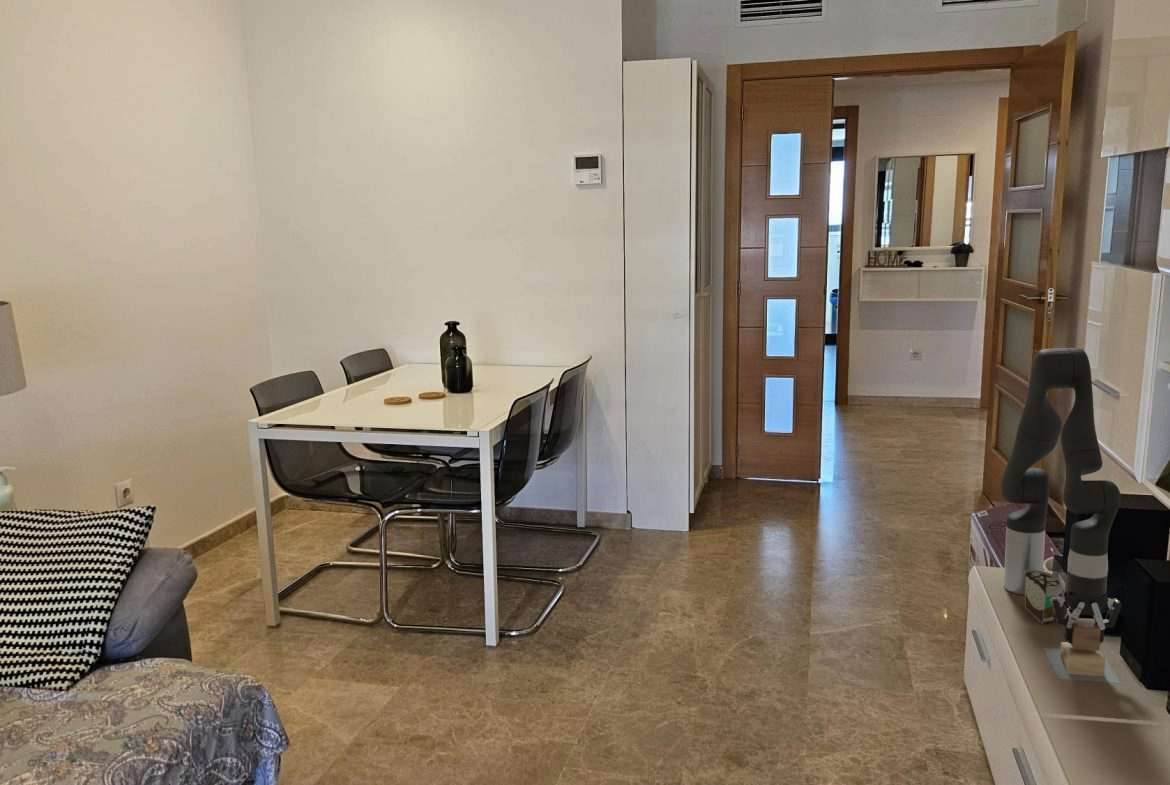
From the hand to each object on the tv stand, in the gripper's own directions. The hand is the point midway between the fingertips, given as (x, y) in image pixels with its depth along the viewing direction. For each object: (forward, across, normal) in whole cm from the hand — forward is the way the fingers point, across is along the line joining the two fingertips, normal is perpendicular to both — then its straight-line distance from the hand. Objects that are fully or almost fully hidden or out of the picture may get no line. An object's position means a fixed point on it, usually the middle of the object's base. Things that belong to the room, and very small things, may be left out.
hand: (1083, 642), depth 196 cm
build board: (+7, 0, -1) cm, 7 cm away
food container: (+7, +1, -27) cm, 28 cm away
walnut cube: (0, 0, 0) cm, 0 cm away
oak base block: (+6, 0, 0) cm, 6 cm away
